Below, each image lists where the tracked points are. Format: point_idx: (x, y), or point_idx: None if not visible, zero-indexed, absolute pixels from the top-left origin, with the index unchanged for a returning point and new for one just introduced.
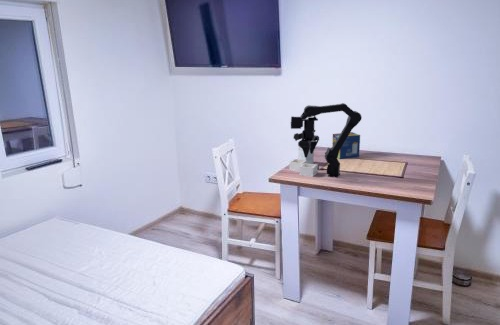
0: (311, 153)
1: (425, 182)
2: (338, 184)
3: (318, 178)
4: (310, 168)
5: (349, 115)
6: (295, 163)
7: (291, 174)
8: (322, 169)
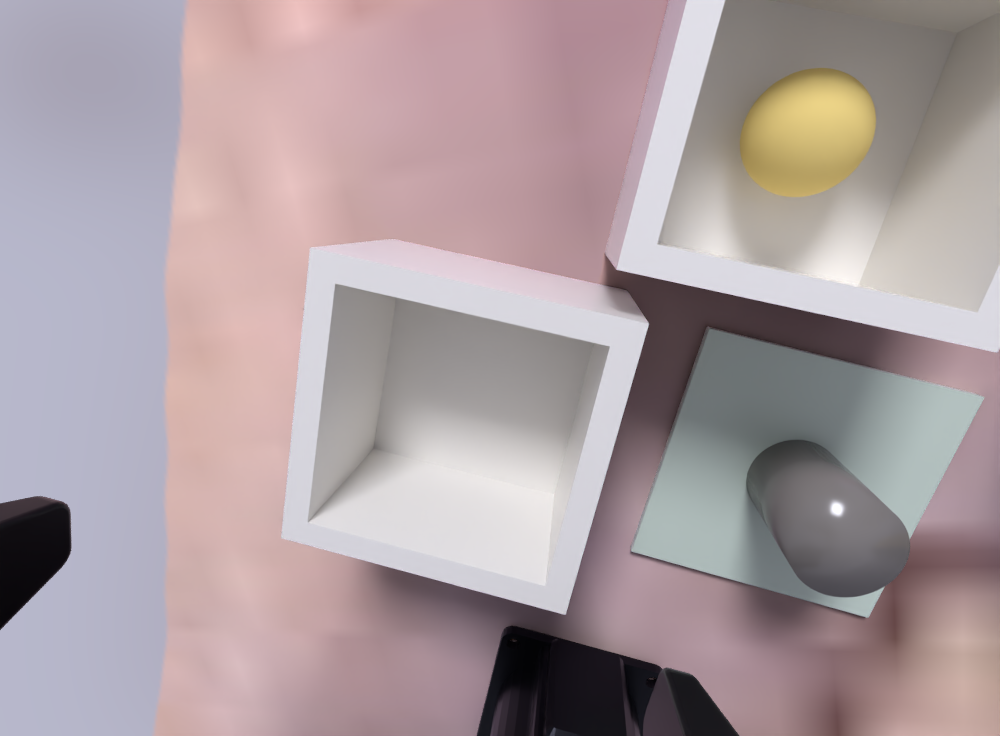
0: (651, 705)
1: None
2: (229, 730)
3: None
4: (290, 487)
5: None
6: (668, 63)
7: (494, 62)
8: None
